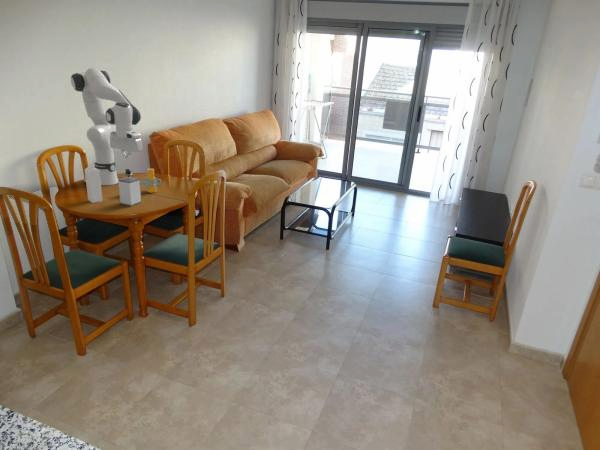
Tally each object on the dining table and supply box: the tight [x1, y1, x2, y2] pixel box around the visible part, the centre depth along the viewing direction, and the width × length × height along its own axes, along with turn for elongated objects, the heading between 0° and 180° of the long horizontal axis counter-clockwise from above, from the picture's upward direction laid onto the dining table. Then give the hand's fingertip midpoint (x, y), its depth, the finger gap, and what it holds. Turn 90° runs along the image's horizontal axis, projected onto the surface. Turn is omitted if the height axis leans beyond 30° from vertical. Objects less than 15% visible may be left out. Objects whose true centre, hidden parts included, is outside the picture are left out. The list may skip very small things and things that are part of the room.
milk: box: [84, 163, 103, 204], centre depth 241 cm, size 6×6×22 cm
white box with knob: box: [118, 176, 142, 207], centre depth 244 cm, size 8×12×15 cm, turn 159°
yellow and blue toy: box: [140, 167, 162, 194], centre depth 266 cm, size 12×10×15 cm
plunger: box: [124, 168, 133, 180], centre depth 241 cm, size 5×5×19 cm
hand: (127, 157), depth 235 cm, fingers closed
